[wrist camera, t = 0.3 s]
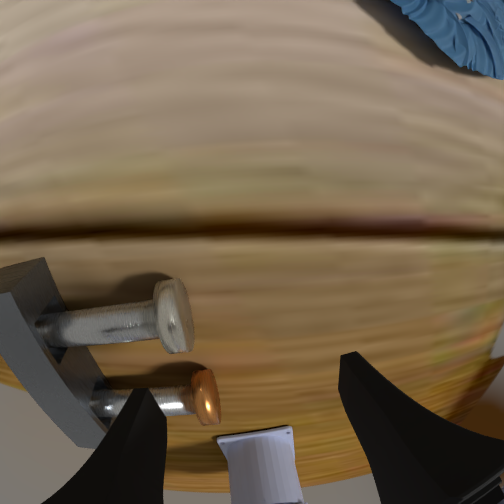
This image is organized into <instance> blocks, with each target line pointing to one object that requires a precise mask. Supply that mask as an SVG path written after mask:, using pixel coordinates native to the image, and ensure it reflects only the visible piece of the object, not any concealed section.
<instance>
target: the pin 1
mask: <svg viewBox="0 0 504 504" xmlns="http://www.w3.org/2000/svg"><path fill="white" fill-rule="evenodd" d="M34 325H35V327H36V329H37V331H38V332H39V334H40V336H41V338H42V339H43V341H44V343H45V344H46V346H47V348H58V347H75V346H90V345H102V344H114V343H124V342H134V341H143V340H152V339H160V341H161V343H162V345H163V347H164V349H165V350H166V351H167V352H168V353H169V354H175V353H183V352H191V351H192V350H193V348H194V324H193V317H192V311H191V306H190V302H189V298H188V294H187V291H186V288H185V286H184V284H183V282H182V280H181V279H180V278H175V279H169V280H163V281H158V282H157V283H156V285H155V287H154V293H153V299H151V300H144V301H138V302H131V303H124V304H117V305H110V306H103V307H96V308H89V309H81V310H74V311H66V312H58V313H50V314H42V315H40V316H39V317H38V318H37V320H36V321H35V323H34Z"/></svg>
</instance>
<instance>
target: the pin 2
mask: <svg viewBox="0 0 504 504" xmlns="http://www.w3.org/2000/svg"><path fill="white" fill-rule="evenodd" d="M149 390H150V392H151V393H152V395H153V397H154V398H155V400H156V402H157V403H158V405H159V407H160V408H161V410H162V411H163V413H164V414H165V416H176V415H189V414H196V415H197V418H198V420H199V422H200V423H201V425H203V426H205V425H215V424H220V422H221V406H220V399H219V393H218V388H217V384H216V380H215V377H214V374H213V372H212V370H211V369H207V370H199V371H194V372H193V373H192V378H191V384H189V385H179V386H168V387H155V388H149ZM132 391H133V389H113V390H93V392H92V395H91V398H90V401H89V404H88V406H89V407H90V409H91V410H92V411H93V412H94V414H95V415H96V416H97V417H117V416H118V414H119V412H120V411H121V409H122V407H123V406H124V404H125V402H126V401H127V399H128V397H129V396H130V394H131V392H132Z"/></svg>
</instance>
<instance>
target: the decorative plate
mask: <svg viewBox="0 0 504 504" xmlns="http://www.w3.org/2000/svg"><path fill="white" fill-rule="evenodd" d="M390 1H391V2H393V3H395V4H396V5H398V6H400V7H401V8H402V13H403V14H404V15H408V16H409V19H410V20H412V21H414V22H416V23H417V24H418V25H419V27H420V28H421V29H422V30H423V31H424V33H425V34H426V35H427V36H429V37H430V38H431V39H432V40H433V41H434V42H435V43H436V45H437V46H438V47H439V48H440V49H441V50H442V51H443V52H444V53H445V54H446V55H448V56H449V57H450V58H451V59H452V60H453V61H455V63H456V64H457V65H458V66H459V67H460V68H461V67H463V66H467V67H468V69H470V68H472V71H479V72H480V73H482V74H483V75H486V76H490V77H492V78H495V79H500V80H503V79H504V0H390Z"/></svg>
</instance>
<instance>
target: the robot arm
mask: <svg viewBox="0 0 504 504" xmlns="http://www.w3.org/2000/svg"><path fill="white" fill-rule="evenodd" d="M338 390H339V393H340V397H341V400H342V403H343V406H344V409H345V412H346V414H347V416H348V418H349V420H350V422H351V424H352V427H353V429H354V431H355V433H356V435H357V437H358V439H359V441H360V443H361V446H362V448H363V450H364V452H365V454H366V456H367V459H368V461H369V464H370V467H371V470H372V473H373V476H374V480H375V483H376V486H377V490H378V493H379V497H380V501H381V504H504V486H503V487H501V488H500V486H499V484H500V483H502V480H501V478H500V477H499V476H500V475H501V474H502V473H503V472H504V440H500V439H496V438H492V437H488V436H484V435H481V434H478V433H476V432H473V431H470V430H467V429H465V428H463V427H461V426H458V425H456V424H454V423H452V422H449V421H447V420H445V419H444V418H442V417H440V416H438V415H436V414H435V413H433V412H431V411H429V410H428V409H426V408H425V407H423V406H422V405H420V404H419V403H417V402H416V401H414V400H413V399H411V398H410V397H409V396H407V395H406V394H405V393H403V392H402V391H401V390H399V389H398V388H397V387H396V386H395V385H393V384H392V383H391V382H390V381H389V380H387V379H386V378H385V377H384V376H383V375H382V374H380V373H379V372H378V371H377V370H376V369H375V368H374V367H373V366H372V365H371V364H370V363H368V362H367V361H366V360H365V359H364V358H363V357H362V356H361V355H360V354H359V353H358V352H356V351H355V352H351V353H347V354H344V355H341V357H340V371H339V384H338ZM217 443H218V444H219V446H220V448H221V450H222V452H223V454H224V455H225V457H226V459H227V461H228V472H229V483H230V494H231V504H307V502H305V503H304V500H303V496H302V492H301V487H300V483H299V479H298V475H297V471H296V467H295V462H294V460H295V454H294V442H293V431H292V427H291V426H285V427H280V428H275V429H269V430H263V431H257V432H251V433H244V434H237V435H229V436H221V437H218V438H217ZM166 449H167V418H166V416H165V414H164V413H163V411H162V410H161V408H160V407H159V405H158V403H157V402H156V400H155V398H154V397H153V395H152V393H151V392H150V390H149V388H137V389H133V391H132V392H131V394H130V396H129V397H128V399H127V401H126V402H125V404H124V406H123V407H122V409H121V411H120V412H119V414H118V416H117V417H116V419H115V421H114V422H113V424H112V425H111V427H110V429H109V430H108V432H107V433H106V435H105V436H104V438H103V439H102V441H101V442H100V444H99V445H98V447H97V448H96V449H95V451H94V452H93V454H92V455H91V457H90V458H89V459H88V460H87V461H86V463H85V464H84V465H83V466H82V467H81V468H80V470H79V471H78V472H77V473H76V474H75V475H74V476H73V477H72V478H71V479H70V480H69V481H68V482H67V483H66V484H65V485H64V486H63V487H62V488H61V489H59V490H58V491H57V492H56V493H55V494H53V495H52V496H51V497H50V498H48V499H47V500H46V501H44V502H43V503H41V504H163V483H164V471H165V460H166Z"/></svg>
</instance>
